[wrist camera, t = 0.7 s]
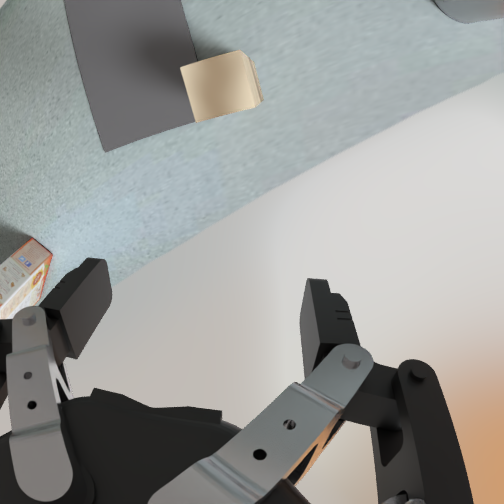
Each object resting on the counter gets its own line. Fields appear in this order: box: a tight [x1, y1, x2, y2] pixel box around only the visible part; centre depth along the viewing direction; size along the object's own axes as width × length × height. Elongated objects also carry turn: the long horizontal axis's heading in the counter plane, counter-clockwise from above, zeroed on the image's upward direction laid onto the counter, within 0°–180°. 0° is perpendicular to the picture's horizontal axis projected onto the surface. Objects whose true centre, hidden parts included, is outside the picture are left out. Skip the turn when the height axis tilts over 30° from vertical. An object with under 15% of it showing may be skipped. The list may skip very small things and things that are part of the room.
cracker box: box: [0, 238, 53, 319], centre depth 43 cm, size 14×6×21 cm, turn 143°
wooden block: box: [180, 50, 264, 123], centre depth 29 cm, size 5×5×14 cm
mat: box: [64, 0, 198, 152], centre depth 33 cm, size 16×26×1 cm, turn 14°
